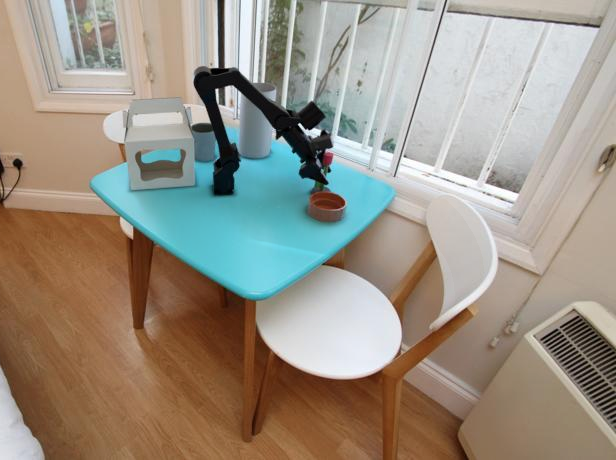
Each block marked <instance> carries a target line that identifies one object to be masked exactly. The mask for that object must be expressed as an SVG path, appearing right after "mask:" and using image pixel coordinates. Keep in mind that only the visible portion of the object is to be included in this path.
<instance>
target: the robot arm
mask: <svg viewBox="0 0 616 460" xmlns="http://www.w3.org/2000/svg"><path fill="white" fill-rule="evenodd" d="M192 83H193V88H194V89H195V92H196V94H197V95H198V96H199V99H200V100H201V102H202V103H203V105H204V107H205V110H206V114H207V116H208V119H209V123H211V125H212V128H213V131H214V135H215V138H216V143H217V148H218V155H219V157H217V159H215V160H214V161H213V162H212V163H213V164H212V165H213V171H212V184H211V188H212V193H213V196H229V195H234V190H235V176H234V175H235V173H236V172H237V171H238V170H239V169H240V167H241V164H240V163H241V162H242V159H241V155H240V153H239V152H238V145H237V143H236V142H233V143H231V141H230V139H229V136H228V133H227V132H228V131H227V130H226V126H225V122H224V119H223V117H222V114H221V111H220V107H219V104H218V103H219V102H218V101H217V91H216V90H220V89H223V88H227V87H231V86H233V87H234V88H235V89H236V90H237V91H238V92H239V93H240V94H241V93H242V94H243V95H244V96H245V97H246V98H247V99H248V100H250V101H251V102H252V103H253V104H254V105H255V106H256V107H257V108H258V109H259V110H261V112H262V113H263V114H264V116H265V117H266V119H267V120H268V121H269V123H270V124H271V125H272V127H273V130H275V136H274V137H275V138H274V139H275V140H276V141H278V140H279V139H280V138H283V140H284V141H285V142H286V143H287V144H288V145H289V147H290V148H291V153H292V155H294V154H296V155H297V157H298V158H299V159H300V160H299V162H300V164H301V165H300V166H299V169H298V176H299V177H300V178H301V179H302V180H304V179H309V180H312V181H314V182H315V181H317V182H319V183H321V184H324V186H328V185H329V184H330V182H329V180H328V179H327V176H326V177H325V175H324V173H323V170H324V164H323V162H322V161H323V156H324V153H326V151H327V150H331V149H333V148H334V146H335V140H334V133H332V132H331V131H329V130H328V129H327V128H324V129H321V130H320V133H319V135H317V136H316V137H313V136H312V135H310V134H308V135H307V134H306V132H305V131H307V130H308V131H309V132H311V131H312V130H313V129H315V128H316V127H317V126H319V125H320V124H321V123H322V122H324V121H325V120H327V116H326V115H325V114H324V112H323V111H322V110H321V108H319V106H318V105H316V103H315V102H314V100H311V101H309V102H308V103H307V104H306V105H305V106H304V107H303V108H301V110H299V111H298V112H297V111H296V110H293V109H289V108H288V109H287V108H286V107H285V106H284V105H282V104H280V103H278V102H276V100H275V101H273V100H271V99H269V98H267V97H266V96H265V95H264V94H263V93H262V92H261V91H260V90H259V89H258V88H257V87H256V86H255V85H253V84H252V83H253V82H252V81H250V80H249V79H248V78H247V77H246V76H245V75H244V74H243V73H242V72H241V70H240V69H239V68H237V67H236V66H232V67H211V68H210V67H208V66H206V65H201V66H198V67H197V68H195V69H194V71H193V73H192ZM301 126H302V128H301ZM304 130H305V131H304ZM330 173H332V168H331V165H329V166H328V170H327V174H330Z"/></svg>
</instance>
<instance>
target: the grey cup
mask: <svg viewBox="0 0 616 460" xmlns="http://www.w3.org/2000/svg"><path fill="white" fill-rule="evenodd" d="M191 128H192V132H193V136H194V160H195V161H196V162H201V163H206V162H211V161H213V160H214V159H215V156H216V155H215V153H216V143H217V141H216V138H215V135H214V131H213V128H212V125H211V122H197V123H193V124H191Z"/></svg>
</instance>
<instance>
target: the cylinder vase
mask: <svg viewBox="0 0 616 460" xmlns="http://www.w3.org/2000/svg"><path fill="white" fill-rule="evenodd" d="M251 83H252V84H253V85H255V86H256V87H257V88H258V89H259V90H260V91H261V92H262V93H263V94H264V95H265V96H266V97H267V98H269V99H271V100H273V101H275V102H276V99H277V86H276V85H275V84H272V83H268V82H251ZM238 123H239V125H238V145H237V149H238V152H239V155H240V156H242V157H243V158H247V159H254V160H255V159H256V160H257V159H258V160H259V159H264V158H267V156H269V155H270V153H271V147H272V137H273V130H274V128H273V127H272V125H271V124H270V123H269V121H268V120H267V119H266V117H265V116H264V114H263V113H262V112H261V110H259V109H258V108H257V107H256V106H255V105H254V104H253V103H252V102H251V101H250V100H248V99H247V98H246V97H245V96H244V95H243V94H242V93H241V92H240V103H239V122H238Z"/></svg>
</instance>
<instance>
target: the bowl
mask: <svg viewBox="0 0 616 460" xmlns="http://www.w3.org/2000/svg"><path fill="white" fill-rule="evenodd" d="M347 207H348V200H346V198H345V197H344V196H342V195H341V194H338V193H335V192H332V191H330V192H326V191H324V192H316V193H312V194H310V196H309V198H308V203H307V209H306V211H307V214H308V215H309V216H310V217H311V218H313V219H315V220H316V221H320V222H324V223H336V222H339V221H341V220H342V219H343V218H344V217H345V214H346V210H347Z"/></svg>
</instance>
